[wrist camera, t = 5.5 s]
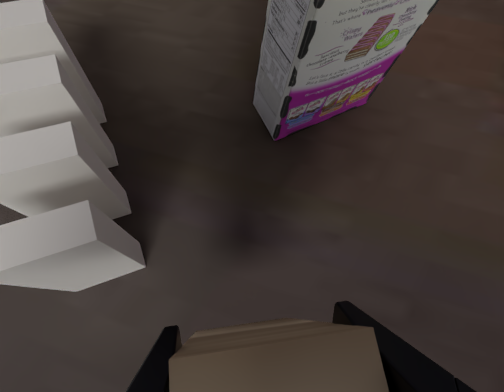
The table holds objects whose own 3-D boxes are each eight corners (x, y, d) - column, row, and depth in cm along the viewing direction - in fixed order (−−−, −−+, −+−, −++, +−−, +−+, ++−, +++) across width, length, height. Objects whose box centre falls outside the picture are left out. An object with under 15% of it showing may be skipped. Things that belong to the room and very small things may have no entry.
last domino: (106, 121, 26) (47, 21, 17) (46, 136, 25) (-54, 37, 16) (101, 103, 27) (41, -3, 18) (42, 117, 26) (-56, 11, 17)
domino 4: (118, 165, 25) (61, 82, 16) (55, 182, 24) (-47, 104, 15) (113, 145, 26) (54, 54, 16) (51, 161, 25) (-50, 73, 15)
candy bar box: (340, 69, 32) (455, -152, 16) (366, 105, 30) (518, -99, 15) (247, 102, 29) (283, -127, 14) (272, 144, 28) (342, -58, 12)
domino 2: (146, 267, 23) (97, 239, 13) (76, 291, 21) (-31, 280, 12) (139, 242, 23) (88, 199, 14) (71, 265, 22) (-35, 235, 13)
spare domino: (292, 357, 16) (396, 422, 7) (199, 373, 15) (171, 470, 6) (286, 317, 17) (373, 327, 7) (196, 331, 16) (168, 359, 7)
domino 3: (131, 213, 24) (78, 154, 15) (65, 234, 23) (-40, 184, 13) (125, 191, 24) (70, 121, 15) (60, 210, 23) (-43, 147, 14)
